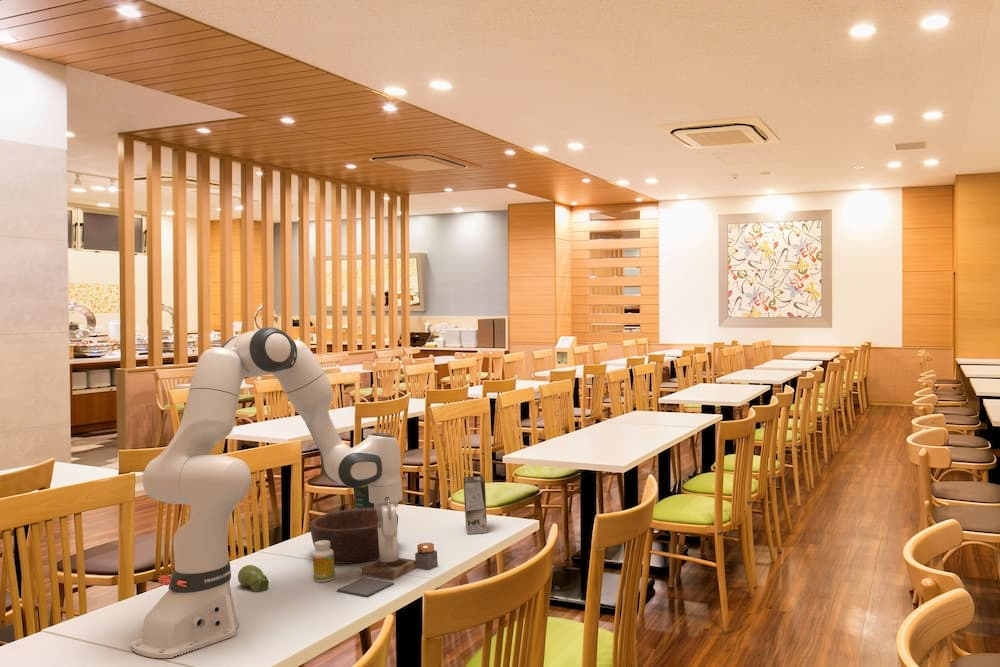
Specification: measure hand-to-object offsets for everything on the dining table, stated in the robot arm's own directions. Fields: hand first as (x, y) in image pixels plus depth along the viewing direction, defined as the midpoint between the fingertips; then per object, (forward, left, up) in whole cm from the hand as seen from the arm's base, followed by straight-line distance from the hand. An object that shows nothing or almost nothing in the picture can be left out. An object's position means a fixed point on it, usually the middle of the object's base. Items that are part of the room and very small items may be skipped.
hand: (388, 545), depth 215 cm
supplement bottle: (-12, +12, -7) cm, 18 cm away
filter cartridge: (0, 0, -4) cm, 4 cm away
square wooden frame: (+2, -2, -7) cm, 7 cm away
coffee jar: (+34, +37, -7) cm, 51 cm away
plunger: (+7, -7, -6) cm, 12 cm away
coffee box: (+43, +1, -7) cm, 44 cm away
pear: (-24, +25, -7) cm, 35 cm away
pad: (-13, -3, -7) cm, 15 cm away
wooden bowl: (+9, +20, -7) cm, 23 cm away
